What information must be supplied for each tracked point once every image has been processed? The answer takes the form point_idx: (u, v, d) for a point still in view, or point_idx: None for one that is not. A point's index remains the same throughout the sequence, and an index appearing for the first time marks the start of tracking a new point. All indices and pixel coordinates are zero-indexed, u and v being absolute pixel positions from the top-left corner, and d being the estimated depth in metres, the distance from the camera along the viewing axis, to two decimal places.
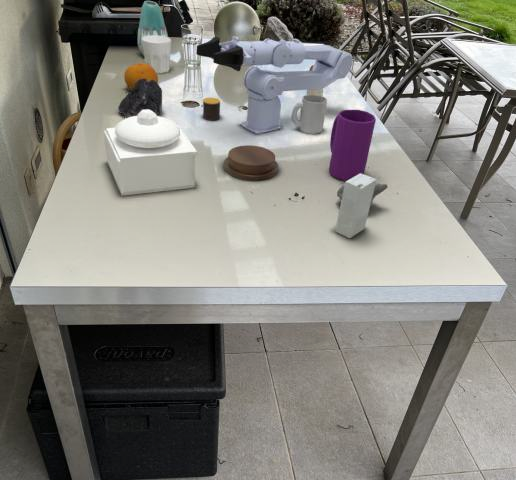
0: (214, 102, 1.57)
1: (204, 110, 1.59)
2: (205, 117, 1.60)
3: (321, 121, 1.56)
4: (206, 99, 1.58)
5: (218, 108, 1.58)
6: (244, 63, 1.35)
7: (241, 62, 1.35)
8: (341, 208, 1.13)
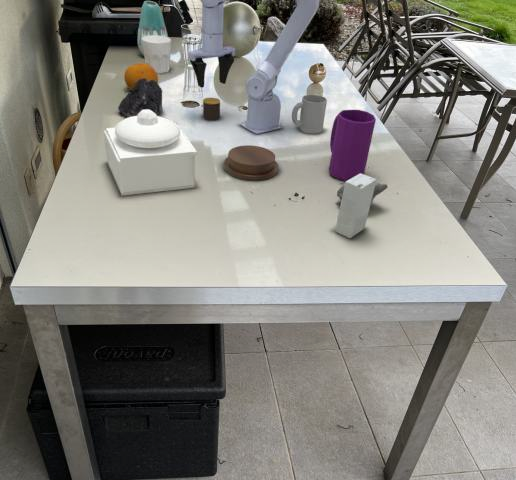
0: (214, 102, 1.57)
1: (204, 110, 1.59)
2: (205, 117, 1.60)
3: (321, 121, 1.56)
4: (206, 99, 1.58)
5: (218, 108, 1.58)
6: None
7: (194, 61, 1.47)
8: (341, 208, 1.13)
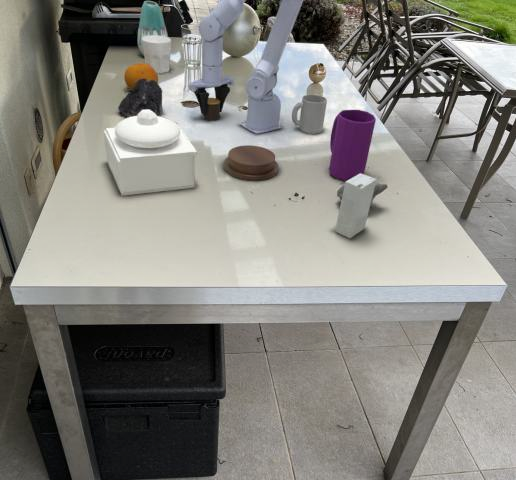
0: (214, 102, 1.57)
1: None
2: (205, 117, 1.60)
3: (321, 121, 1.56)
4: None
5: (218, 108, 1.58)
6: None
7: (198, 91, 1.53)
8: (341, 208, 1.13)
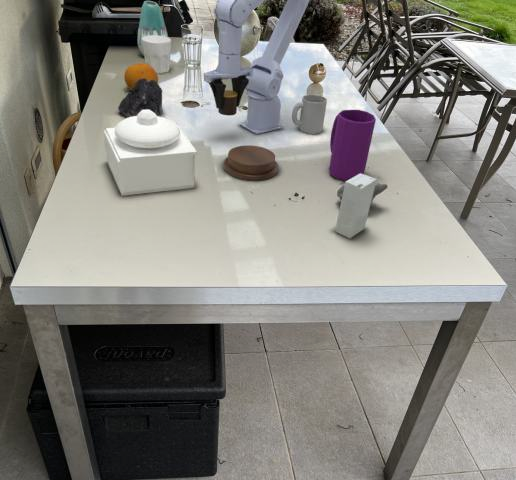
0: (231, 95, 1.42)
1: None
2: (220, 111, 1.45)
3: (321, 121, 1.56)
4: None
5: (235, 102, 1.43)
6: None
7: (213, 83, 1.38)
8: (341, 208, 1.13)
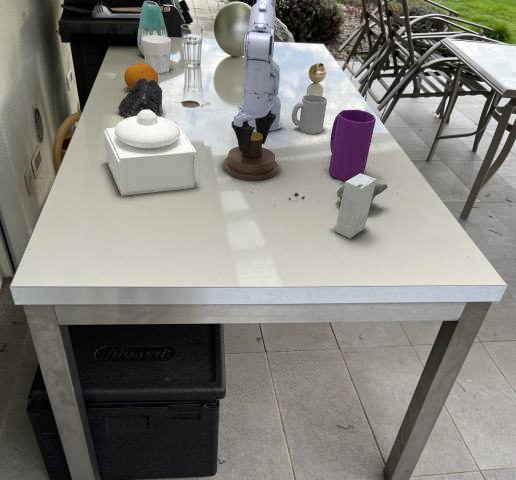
0: (258, 137, 1.31)
1: None
2: (247, 156, 1.33)
3: (321, 121, 1.56)
4: None
5: (261, 143, 1.33)
6: None
7: (241, 127, 1.25)
8: (341, 208, 1.13)
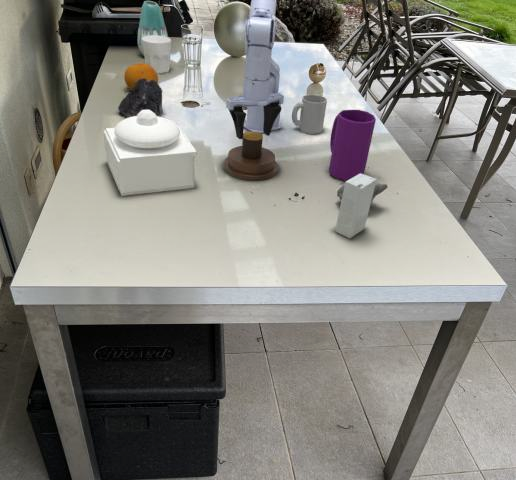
0: (258, 137, 1.31)
1: (246, 148, 1.32)
2: (247, 156, 1.33)
3: (321, 121, 1.56)
4: (246, 134, 1.32)
5: (261, 143, 1.33)
6: None
7: None
8: (341, 208, 1.13)
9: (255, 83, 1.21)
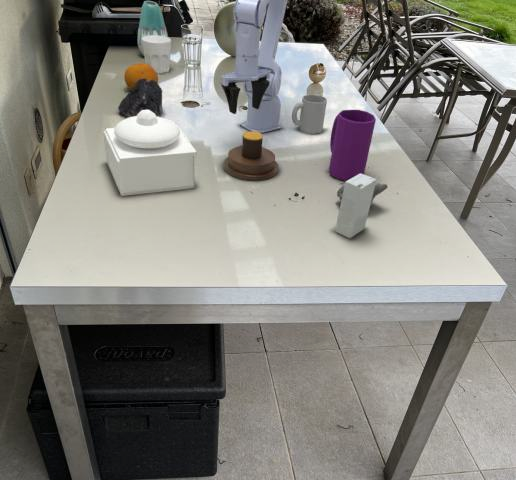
0: (258, 137, 1.31)
1: (246, 148, 1.32)
2: (247, 156, 1.33)
3: (321, 121, 1.56)
4: (246, 134, 1.32)
5: (261, 143, 1.33)
6: None
7: None
8: (341, 208, 1.13)
9: (247, 59, 1.31)
